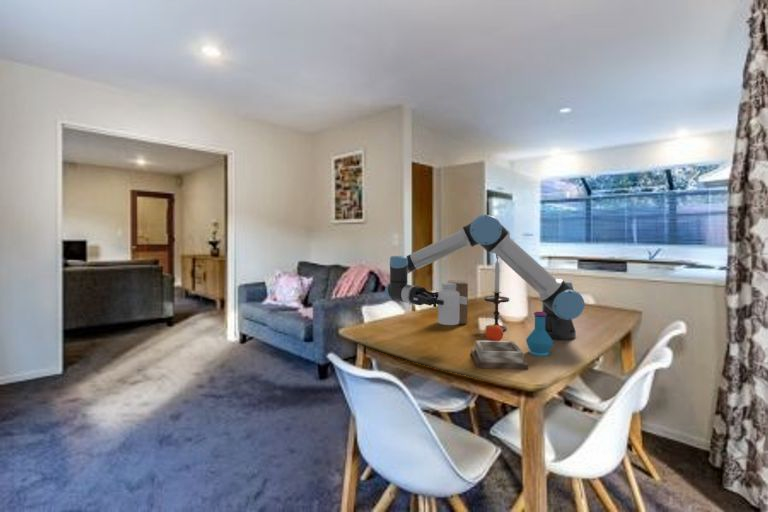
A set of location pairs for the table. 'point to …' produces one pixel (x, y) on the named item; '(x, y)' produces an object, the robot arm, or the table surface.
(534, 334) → the perfume bottle
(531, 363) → the table surface
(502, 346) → the bottle stand
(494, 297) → the candlestick
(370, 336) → the table surface
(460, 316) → the wooden block
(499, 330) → the red round lump
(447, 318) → the pill bottle
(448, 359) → the table surface
